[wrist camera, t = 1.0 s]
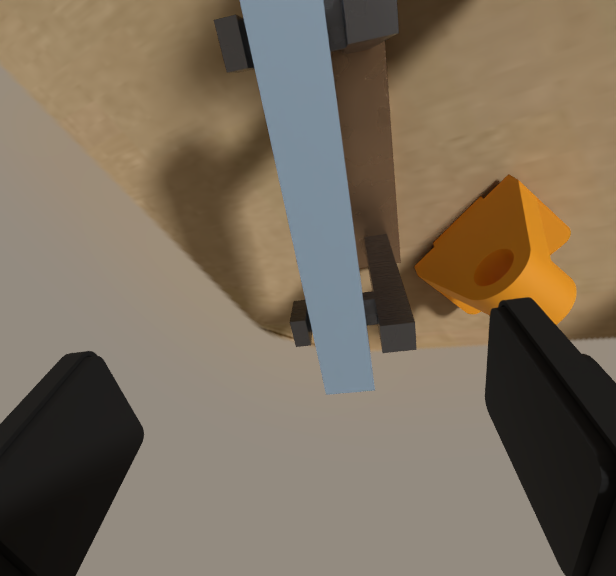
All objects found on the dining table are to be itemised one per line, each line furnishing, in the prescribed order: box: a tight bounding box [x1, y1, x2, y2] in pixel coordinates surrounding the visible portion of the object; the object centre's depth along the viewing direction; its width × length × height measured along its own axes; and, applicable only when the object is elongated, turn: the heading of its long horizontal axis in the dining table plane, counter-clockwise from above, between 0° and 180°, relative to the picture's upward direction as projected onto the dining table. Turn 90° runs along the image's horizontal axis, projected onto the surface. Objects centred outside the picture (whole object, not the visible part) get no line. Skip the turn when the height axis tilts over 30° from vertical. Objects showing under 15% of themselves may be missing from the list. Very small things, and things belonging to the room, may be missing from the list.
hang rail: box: [240, 0, 375, 394], centre depth 20 cm, size 3×22×4 cm, turn 11°
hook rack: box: [214, 0, 416, 353], centre depth 25 cm, size 8×20×15 cm, turn 10°
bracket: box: [414, 174, 576, 325], centre depth 30 cm, size 11×7×12 cm, turn 143°
